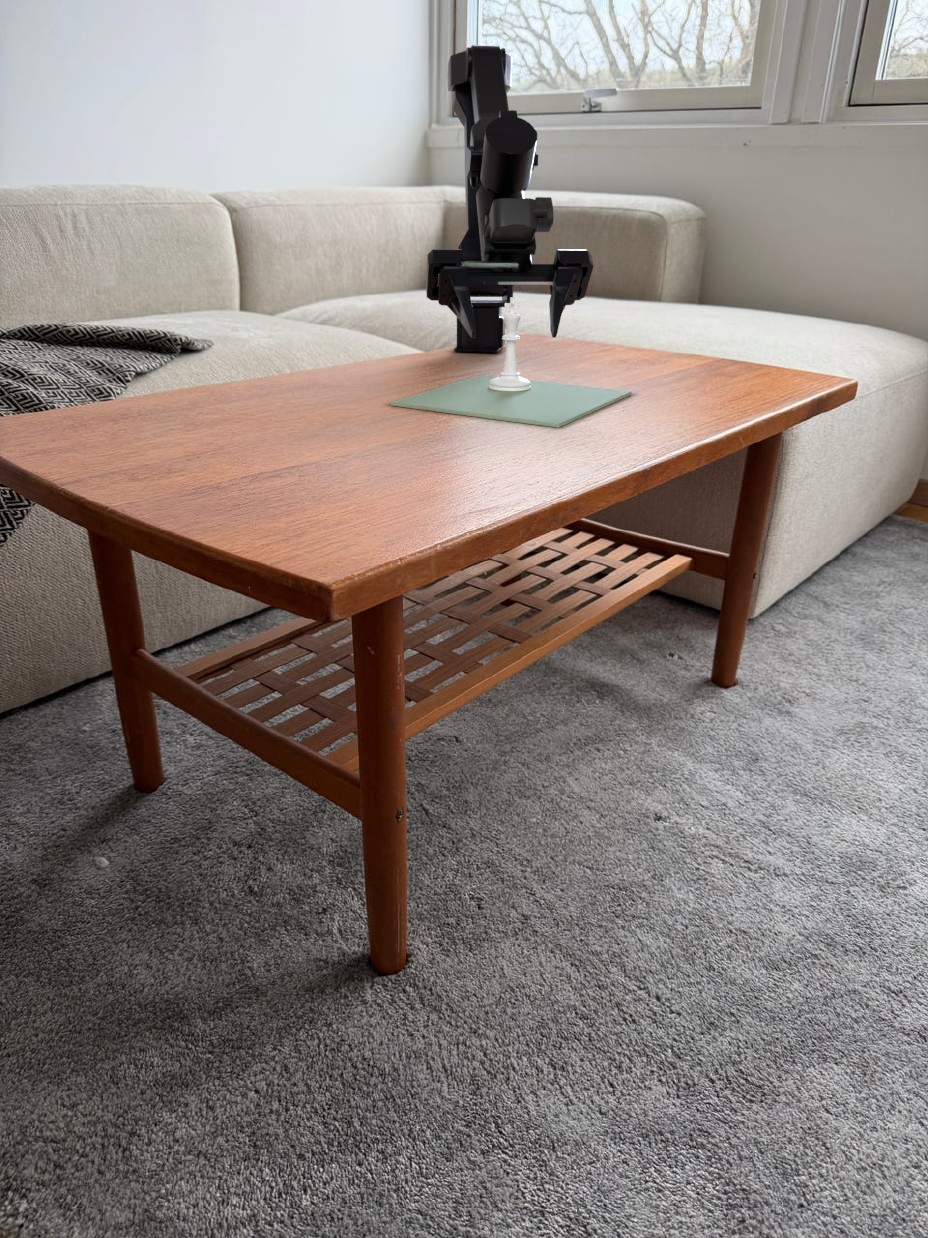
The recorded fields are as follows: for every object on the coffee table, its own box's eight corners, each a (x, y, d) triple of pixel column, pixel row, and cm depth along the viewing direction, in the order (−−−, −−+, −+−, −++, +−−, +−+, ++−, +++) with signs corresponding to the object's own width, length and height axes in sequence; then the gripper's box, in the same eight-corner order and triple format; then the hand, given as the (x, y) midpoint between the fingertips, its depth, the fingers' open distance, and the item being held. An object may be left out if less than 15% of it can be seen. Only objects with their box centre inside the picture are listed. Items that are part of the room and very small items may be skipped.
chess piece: (533, 391, 105) (536, 299, 100) (490, 391, 104) (492, 299, 100) (528, 383, 109) (531, 295, 105) (487, 383, 109) (488, 295, 105)
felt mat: (390, 405, 99) (390, 401, 99) (480, 377, 115) (480, 374, 114) (558, 427, 90) (558, 423, 90) (631, 394, 106) (631, 391, 105)
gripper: (426, 168, 99) (434, 285, 93) (595, 170, 101) (612, 285, 95) (422, 244, 109) (429, 353, 104) (575, 244, 111) (590, 351, 106)
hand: (514, 335), depth 102 cm, fingers open, 9 cm apart
